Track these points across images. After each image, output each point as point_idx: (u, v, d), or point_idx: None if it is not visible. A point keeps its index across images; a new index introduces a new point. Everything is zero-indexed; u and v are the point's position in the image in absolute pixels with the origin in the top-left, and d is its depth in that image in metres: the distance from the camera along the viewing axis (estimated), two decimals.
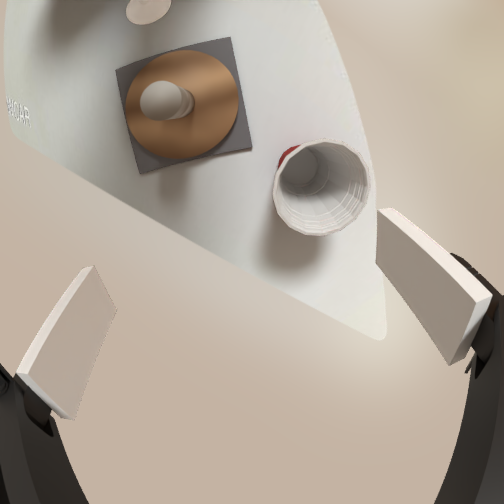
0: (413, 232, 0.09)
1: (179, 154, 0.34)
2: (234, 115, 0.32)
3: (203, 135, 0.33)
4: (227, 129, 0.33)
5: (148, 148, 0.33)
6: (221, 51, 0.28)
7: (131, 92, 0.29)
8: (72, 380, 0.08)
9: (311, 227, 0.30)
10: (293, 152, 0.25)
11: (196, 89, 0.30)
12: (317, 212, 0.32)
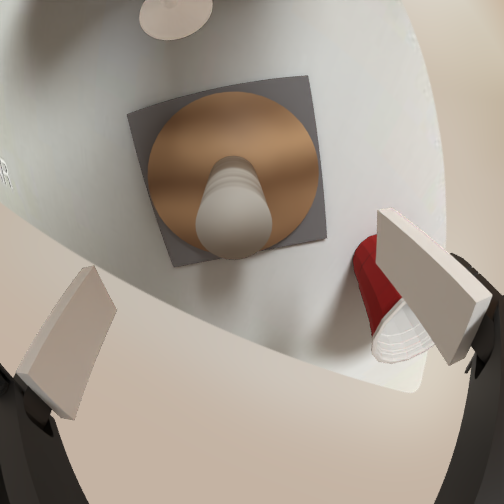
0: (413, 232, 0.09)
1: None
2: (311, 200, 0.25)
3: None
4: (300, 219, 0.25)
5: (187, 240, 0.26)
6: (294, 97, 0.21)
7: (155, 155, 0.22)
8: (72, 380, 0.08)
9: (397, 353, 0.23)
10: None
11: (259, 158, 0.22)
12: (400, 328, 0.25)
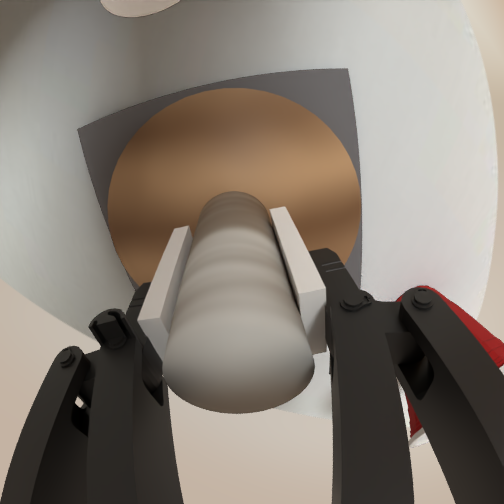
0: (285, 228, 0.11)
1: None
2: (346, 254, 0.17)
3: None
4: None
5: None
6: (328, 101, 0.13)
7: (117, 190, 0.14)
8: None
9: None
10: None
11: (274, 195, 0.15)
12: None
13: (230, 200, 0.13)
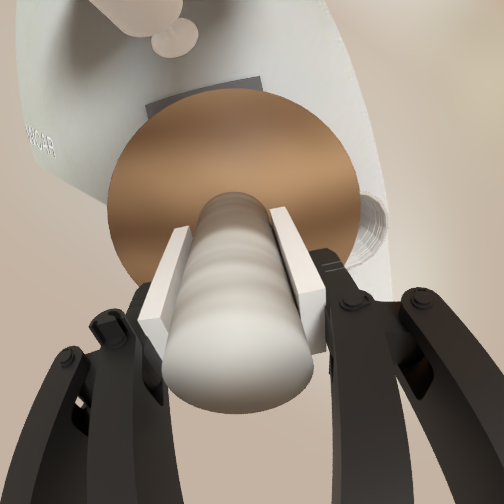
0: (285, 228, 0.11)
1: None
2: (346, 254, 0.17)
3: None
4: None
5: None
6: None
7: (117, 191, 0.14)
8: None
9: None
10: None
11: (274, 196, 0.15)
12: None
13: (230, 200, 0.13)
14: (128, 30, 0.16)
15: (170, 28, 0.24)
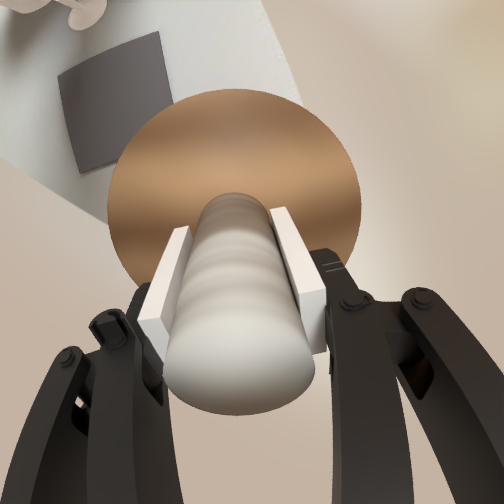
0: (285, 228, 0.11)
1: None
2: (347, 255, 0.17)
3: None
4: None
5: None
6: (149, 46, 0.26)
7: (117, 192, 0.14)
8: None
9: None
10: None
11: (274, 197, 0.15)
12: None
13: (230, 201, 0.13)
14: (15, 9, 0.09)
15: (73, 2, 0.17)
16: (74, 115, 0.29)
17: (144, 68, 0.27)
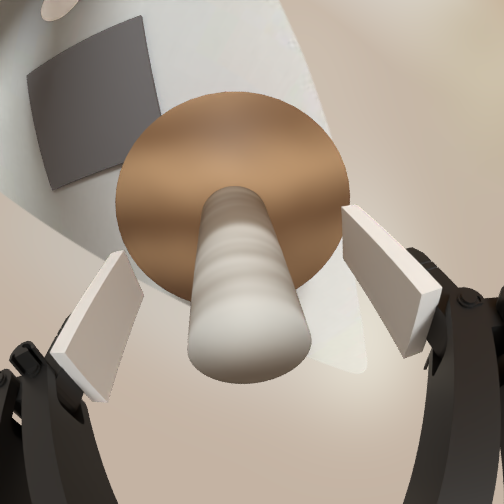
0: (371, 227, 0.10)
1: None
2: (336, 241, 0.19)
3: None
4: (320, 264, 0.20)
5: (175, 292, 0.20)
6: (129, 34, 0.19)
7: (124, 187, 0.15)
8: (106, 361, 0.09)
9: None
10: None
11: (271, 189, 0.16)
12: None
13: (232, 195, 0.15)
14: None
15: None
16: (44, 121, 0.22)
17: (123, 60, 0.21)
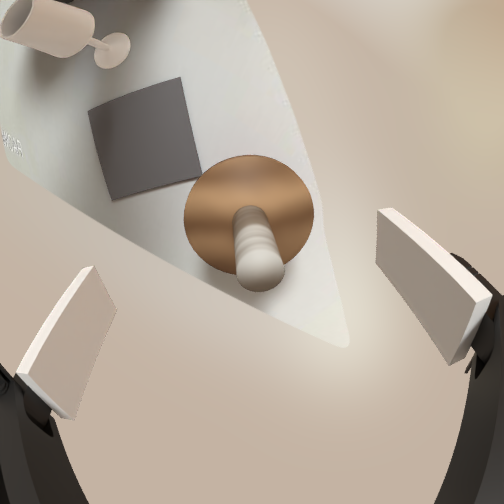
0: (413, 232, 0.09)
1: None
2: (307, 235, 0.33)
3: None
4: (299, 248, 0.34)
5: (214, 265, 0.34)
6: (172, 91, 0.35)
7: (190, 204, 0.30)
8: (72, 380, 0.08)
9: None
10: None
11: (269, 207, 0.31)
12: None
13: (250, 210, 0.29)
14: (52, 54, 0.18)
15: (101, 44, 0.26)
16: (106, 148, 0.37)
17: (169, 111, 0.36)
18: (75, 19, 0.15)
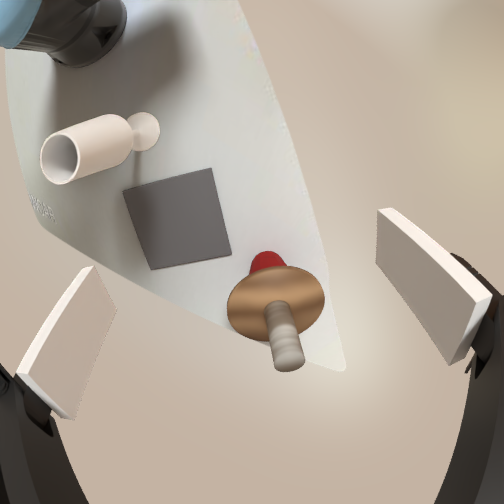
0: (413, 232, 0.09)
1: None
2: (318, 315, 0.43)
3: None
4: (311, 323, 0.44)
5: (247, 336, 0.44)
6: (204, 181, 0.44)
7: (233, 301, 0.40)
8: (72, 380, 0.08)
9: None
10: None
11: (292, 300, 0.41)
12: None
13: (278, 307, 0.39)
14: None
15: (133, 135, 0.35)
16: (143, 227, 0.47)
17: (202, 200, 0.45)
18: (117, 143, 0.25)
